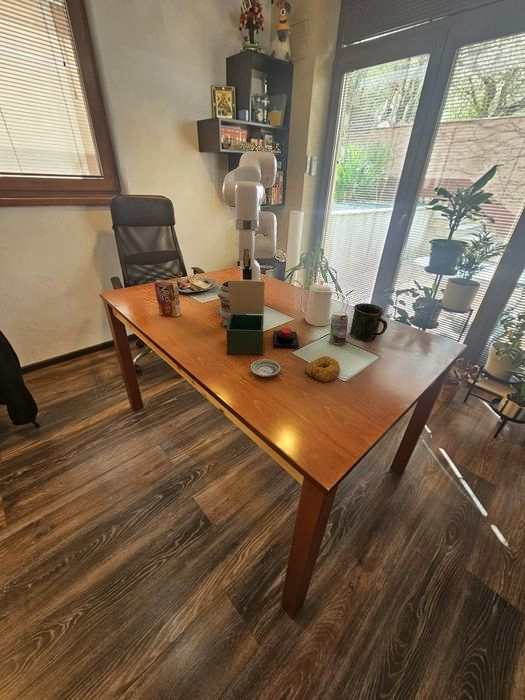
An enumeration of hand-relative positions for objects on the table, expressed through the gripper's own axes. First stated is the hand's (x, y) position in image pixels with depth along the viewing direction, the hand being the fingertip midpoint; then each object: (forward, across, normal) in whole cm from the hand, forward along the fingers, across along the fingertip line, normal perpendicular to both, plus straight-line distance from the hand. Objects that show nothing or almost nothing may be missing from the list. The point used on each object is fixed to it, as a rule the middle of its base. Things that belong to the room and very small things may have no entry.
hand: (247, 279), depth 106 cm
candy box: (+23, -18, -36) cm, 46 cm away
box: (+23, +9, 0) cm, 24 cm away
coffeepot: (+23, -14, +30) cm, 40 cm away
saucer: (+23, +26, +7) cm, 36 cm away
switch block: (+23, +5, +15) cm, 28 cm away
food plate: (+22, -55, -34) cm, 68 cm away
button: (+20, +5, +15) cm, 25 cm away
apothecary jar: (+23, -9, -7) cm, 25 cm away
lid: (+6, +5, 0) cm, 7 cm away
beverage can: (+23, +4, +35) cm, 42 cm away
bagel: (+23, +26, +26) cm, 43 cm away
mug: (+23, 0, +48) cm, 53 cm away
